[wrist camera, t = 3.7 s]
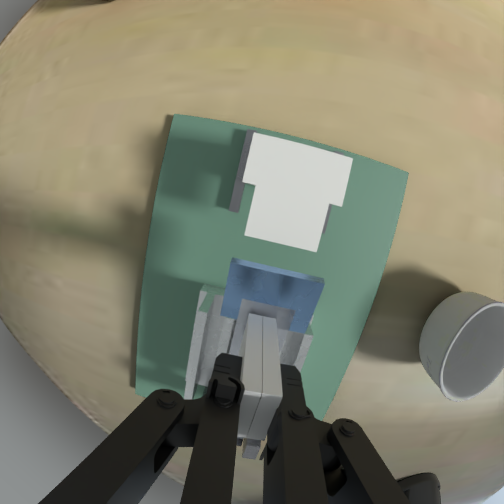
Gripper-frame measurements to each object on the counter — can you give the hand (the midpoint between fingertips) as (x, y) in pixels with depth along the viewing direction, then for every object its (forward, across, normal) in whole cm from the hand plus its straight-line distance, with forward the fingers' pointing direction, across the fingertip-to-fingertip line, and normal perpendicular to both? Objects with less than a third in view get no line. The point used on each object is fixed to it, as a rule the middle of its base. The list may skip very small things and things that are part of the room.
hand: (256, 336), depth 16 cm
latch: (+11, 0, -8) cm, 13 cm away
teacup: (+12, -24, +2) cm, 27 cm away
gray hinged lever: (+3, 0, +5) cm, 6 cm away
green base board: (+12, 0, +3) cm, 12 cm away
